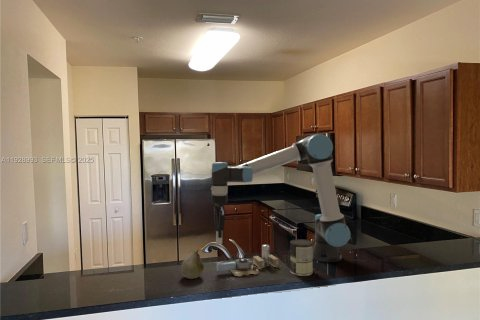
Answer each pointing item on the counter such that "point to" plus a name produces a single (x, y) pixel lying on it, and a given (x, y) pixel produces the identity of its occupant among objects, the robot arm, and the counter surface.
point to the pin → (265, 254)
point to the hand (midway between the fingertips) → (219, 243)
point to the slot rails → (260, 262)
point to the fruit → (192, 266)
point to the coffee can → (301, 257)
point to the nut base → (245, 271)
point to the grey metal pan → (235, 265)
